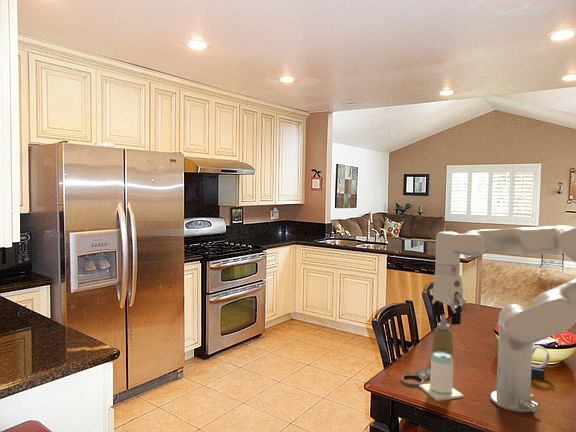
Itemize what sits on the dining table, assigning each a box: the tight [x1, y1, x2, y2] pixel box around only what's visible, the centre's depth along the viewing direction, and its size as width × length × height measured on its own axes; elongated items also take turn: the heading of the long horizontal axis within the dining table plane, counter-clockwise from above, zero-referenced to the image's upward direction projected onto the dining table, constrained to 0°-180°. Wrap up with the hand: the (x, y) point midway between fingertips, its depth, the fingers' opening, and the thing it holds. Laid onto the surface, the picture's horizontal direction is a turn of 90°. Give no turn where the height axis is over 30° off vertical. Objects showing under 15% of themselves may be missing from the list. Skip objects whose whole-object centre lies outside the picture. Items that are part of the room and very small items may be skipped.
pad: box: [418, 383, 464, 402], centre depth 142 cm, size 10×10×1 cm
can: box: [429, 352, 454, 394], centre depth 141 cm, size 7×7×12 cm
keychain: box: [400, 367, 431, 388], centre depth 152 cm, size 8×19×2 cm, turn 129°
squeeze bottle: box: [431, 314, 454, 358], centre depth 169 cm, size 8×8×18 cm
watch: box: [531, 344, 551, 380], centre depth 156 cm, size 6×8×11 cm
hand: (446, 320), depth 141 cm, fingers open, 9 cm apart
